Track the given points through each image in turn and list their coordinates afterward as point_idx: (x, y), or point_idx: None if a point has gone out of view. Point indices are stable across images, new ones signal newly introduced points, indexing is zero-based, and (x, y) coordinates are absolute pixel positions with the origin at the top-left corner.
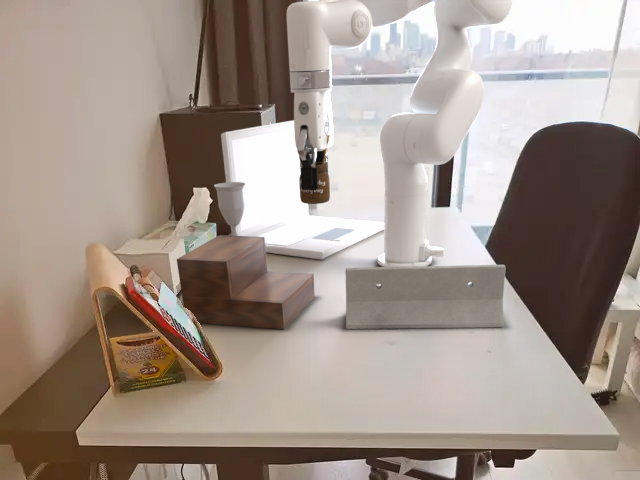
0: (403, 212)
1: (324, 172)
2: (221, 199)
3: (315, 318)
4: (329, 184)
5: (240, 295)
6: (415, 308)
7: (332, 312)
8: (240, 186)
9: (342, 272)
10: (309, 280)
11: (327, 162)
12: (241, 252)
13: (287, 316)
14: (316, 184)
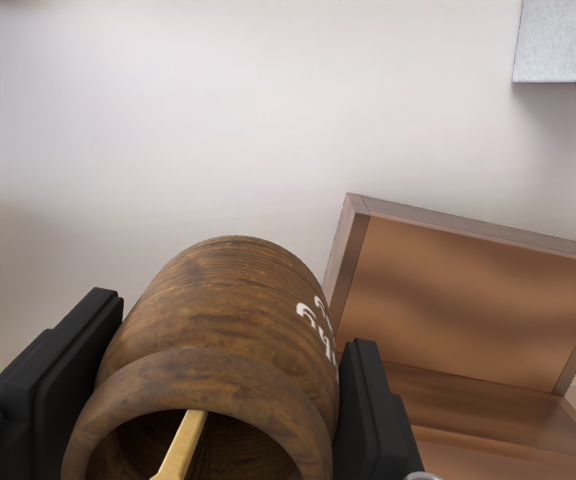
0: None
1: (243, 355)
2: None
3: (517, 173)
4: (223, 269)
5: (534, 380)
6: None
7: (477, 130)
8: None
9: (94, 127)
10: (396, 218)
11: (9, 382)
12: (523, 459)
13: (569, 245)
14: (379, 362)
